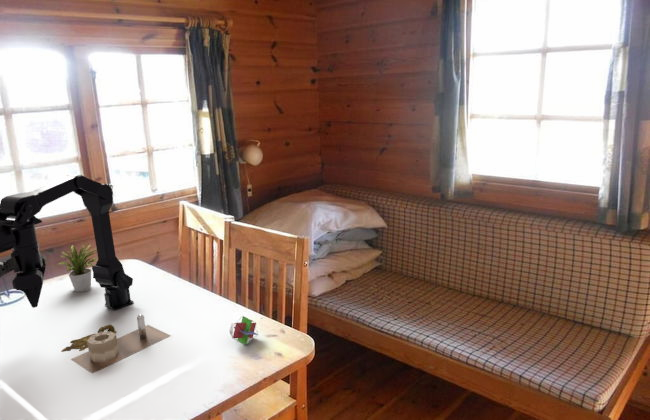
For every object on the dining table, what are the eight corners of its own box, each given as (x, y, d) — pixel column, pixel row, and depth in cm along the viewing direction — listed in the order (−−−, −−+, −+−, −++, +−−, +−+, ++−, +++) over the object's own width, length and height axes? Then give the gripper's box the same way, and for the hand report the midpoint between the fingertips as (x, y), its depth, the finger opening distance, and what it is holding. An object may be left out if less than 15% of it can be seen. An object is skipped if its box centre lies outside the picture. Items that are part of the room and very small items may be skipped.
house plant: (92, 298, 164) (85, 251, 160) (51, 299, 164) (42, 252, 160) (111, 281, 178) (104, 238, 174) (73, 282, 178) (65, 239, 174)
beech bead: (109, 346, 130) (106, 329, 129) (122, 353, 127) (119, 336, 125) (86, 357, 126) (83, 339, 124) (99, 364, 122) (96, 346, 121)
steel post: (144, 335, 136) (141, 312, 134) (148, 337, 135) (144, 314, 133) (138, 337, 134) (135, 314, 133) (142, 339, 133) (138, 316, 132)
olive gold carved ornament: (67, 367, 126) (124, 344, 136) (65, 352, 124) (123, 329, 135) (54, 351, 132) (110, 330, 142) (51, 336, 130) (108, 315, 141)
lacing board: (148, 328, 142) (148, 324, 142) (171, 339, 135) (171, 335, 135) (71, 363, 125) (70, 359, 125) (93, 377, 119) (92, 373, 118)
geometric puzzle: (253, 322, 138) (236, 307, 133) (268, 330, 134) (252, 315, 129) (237, 344, 136) (220, 330, 131) (252, 353, 131) (235, 338, 126)
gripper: (-7, 239, 131) (5, 294, 135) (-19, 261, 115) (-5, 322, 119) (40, 233, 136) (50, 285, 140) (36, 252, 120) (47, 311, 124)
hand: (36, 300), depth 131 cm, fingers open, 9 cm apart
